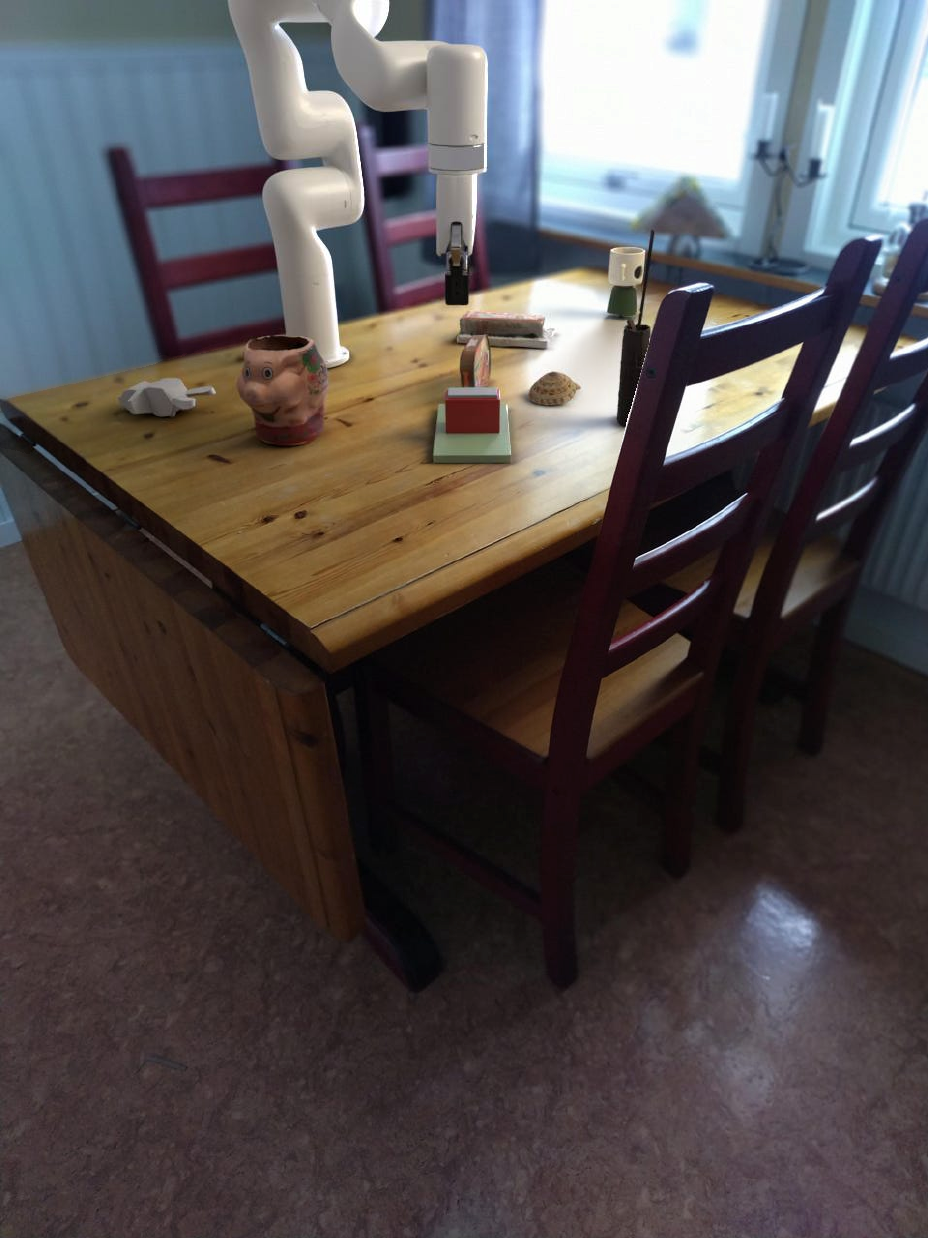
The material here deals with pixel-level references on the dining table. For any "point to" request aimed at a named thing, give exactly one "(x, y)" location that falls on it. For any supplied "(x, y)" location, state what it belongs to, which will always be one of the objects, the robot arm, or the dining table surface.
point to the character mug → (625, 279)
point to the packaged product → (505, 329)
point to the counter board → (472, 443)
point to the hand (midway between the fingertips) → (457, 294)
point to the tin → (476, 362)
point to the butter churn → (633, 353)
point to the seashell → (553, 389)
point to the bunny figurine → (161, 397)
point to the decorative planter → (284, 388)
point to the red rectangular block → (472, 410)
